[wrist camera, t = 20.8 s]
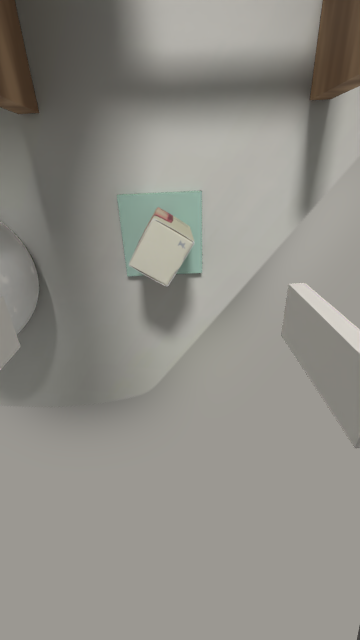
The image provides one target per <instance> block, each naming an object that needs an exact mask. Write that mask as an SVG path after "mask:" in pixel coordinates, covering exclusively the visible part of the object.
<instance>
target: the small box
mask: <svg viewBox="0 0 360 640" xmlns="http://www.w3.org/2000/svg"><path fill="white" fill-rule="evenodd" d="M194 243H195V242H194V238H193V235H192V232H191V229H190V226H189V225H187V224H186V223H184V222H182V221H181V220H179V219H178V218H176V217H175V216H173V215H171V214H169V213H168V212H166V211H164V210H163V209H161V208H159V207H158V208H156V210H155V212H154V214H153V215H152V217H151V219H150V221H149V223H148V225H147V226H146V228H145V230H144V233H143V235H142V237H141V239H140V241H139V243H138V245H137V247H136V249H135V251H134V253H133V256H132V258H131V260H130V262H129V266H130V267H132V268H133V269H135V270H137V271H139V272H140V273H142V274H144V275H145V276H147V277H149V278H151V279H152V280H154V281H156V282H158V283H160V284H162V285H163V286H165V287H167V286H169V284H170V283H171V281H172V280H173V278H174V276H175V275H176V273H177V271H178V270H179V268H180V267H181V265H182V263H183V262H184V260H185V258H186V257H187V255H188V253H189V252H190V250H191V248H192V247H193V245H194Z"/></svg>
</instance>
